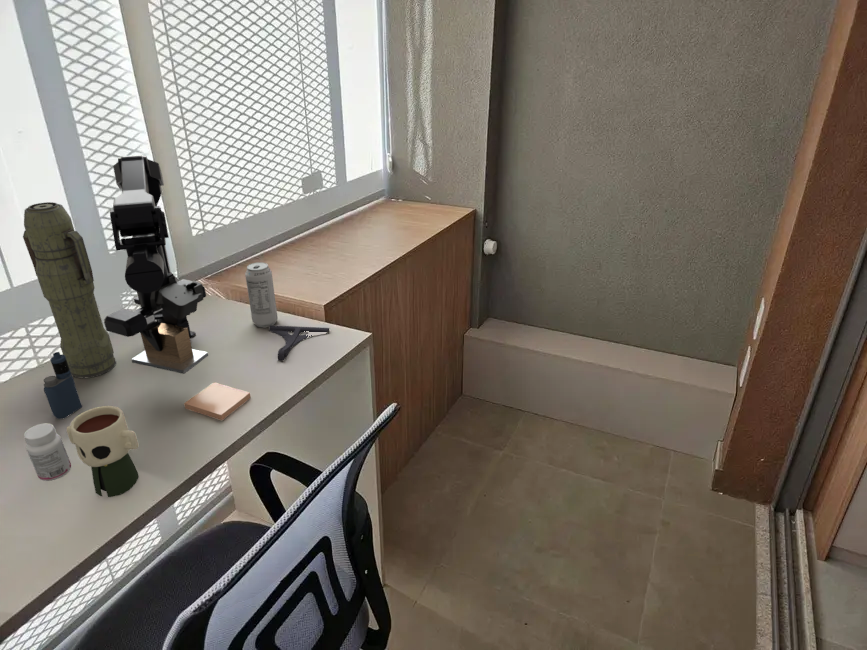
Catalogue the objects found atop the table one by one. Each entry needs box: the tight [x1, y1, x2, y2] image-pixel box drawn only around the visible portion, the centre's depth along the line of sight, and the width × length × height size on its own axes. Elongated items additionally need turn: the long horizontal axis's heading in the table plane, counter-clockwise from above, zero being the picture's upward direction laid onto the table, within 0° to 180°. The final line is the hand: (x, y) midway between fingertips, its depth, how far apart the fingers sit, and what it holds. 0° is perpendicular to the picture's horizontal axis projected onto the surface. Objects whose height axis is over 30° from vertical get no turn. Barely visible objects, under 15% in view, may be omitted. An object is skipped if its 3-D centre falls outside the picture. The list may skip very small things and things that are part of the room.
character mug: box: [66, 405, 140, 498], centre depth 87 cm, size 11×7×13 cm, turn 83°
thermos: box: [22, 201, 117, 379], centre depth 113 cm, size 9×12×35 cm
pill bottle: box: [23, 422, 72, 482], centre depth 91 cm, size 5×5×8 cm
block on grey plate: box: [131, 323, 209, 375], centre depth 109 cm, size 12×7×7 cm, turn 72°
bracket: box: [268, 324, 330, 361], centre depth 130 cm, size 14×15×3 cm
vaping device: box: [43, 351, 83, 420], centre depth 104 cm, size 3×5×12 cm, turn 161°
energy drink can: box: [244, 261, 279, 328], centre depth 136 cm, size 6×6×15 cm
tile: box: [183, 381, 251, 421], centre depth 110 cm, size 2×8×9 cm
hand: (167, 345), depth 109 cm, fingers closed on block on grey plate, 4 cm apart
